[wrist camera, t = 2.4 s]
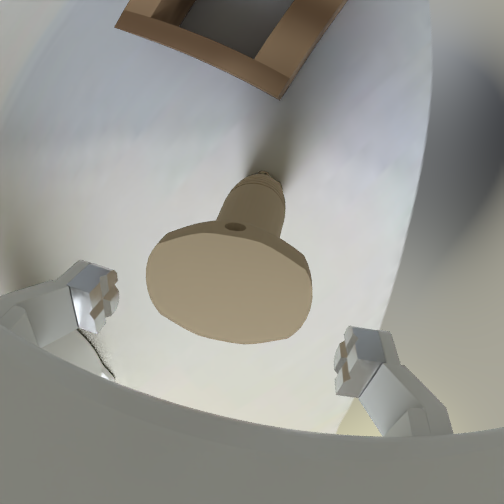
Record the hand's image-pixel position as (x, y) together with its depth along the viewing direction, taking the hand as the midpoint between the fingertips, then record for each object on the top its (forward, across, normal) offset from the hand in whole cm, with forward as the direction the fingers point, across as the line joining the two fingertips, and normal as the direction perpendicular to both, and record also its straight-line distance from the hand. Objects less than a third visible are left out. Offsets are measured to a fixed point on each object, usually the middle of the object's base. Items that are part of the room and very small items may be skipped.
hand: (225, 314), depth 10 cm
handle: (+17, +1, 0) cm, 17 cm away
